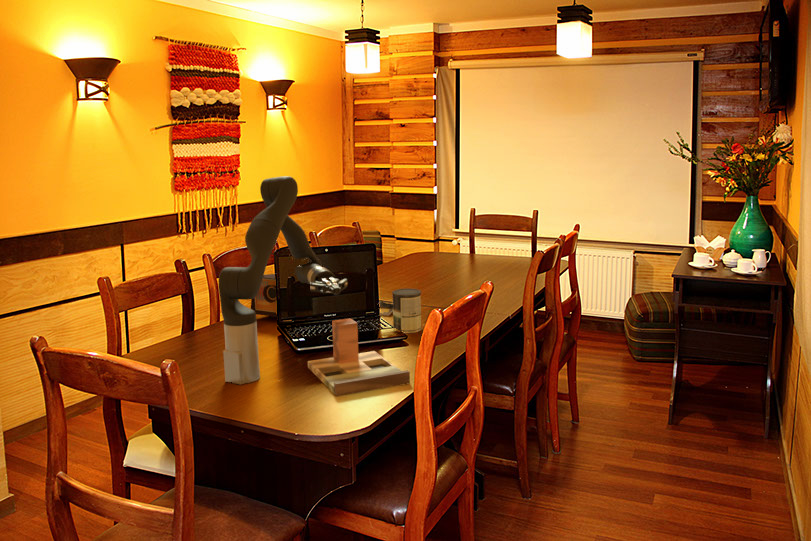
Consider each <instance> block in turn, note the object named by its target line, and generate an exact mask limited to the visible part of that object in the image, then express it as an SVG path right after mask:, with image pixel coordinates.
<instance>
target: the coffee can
mask: <svg viewBox="0 0 811 541" xmlns="http://www.w3.org/2000/svg"><path fill="white" fill-rule="evenodd" d="M421 295H422V290H420V289H416V288H399V289H395V290H393V291H392V304H393V312H392V316H393V317H392V320H393V321H392V322H393V323H392V325H393V327H394V328H396V329H398V330H400V331H403V332H405V333H404V334H414V333H418V332H420V331H422V306H421V305H422V304H421V303H422V302H421V300H422V299H421Z"/></svg>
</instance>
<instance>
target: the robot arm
mask: <svg viewBox="0 0 811 541" xmlns="http://www.w3.org/2000/svg"><path fill="white" fill-rule="evenodd" d="M259 188H260V195H261V196H260V197H261V198H262V201H263V203H264V205H265V208H264V209H263V210H261V211H260V212H259V213H258V214H257V215H256V216H255V217H254V218H253V219H252V221H250V223H249V226H248V229H247V231H246V233H245V236H244V241H245V246H246V248H247V251H248V252H249V255H250V258H251V261H250V264H249V265H248V266H245V267H244V266H243V267H242V266H239V267H238V266H227V267H226V266H225V267H224V268H222V269H221V270H220V272H219V275H218V293H219V300H220V308H221V315H222V318H223V330H224V343H225V345H224V346H225V349H223V351H222V353H223V366H224V367H223V368H224V382H226V383H227V382H228V383H231V382H232V384H235V385H240V386H241V385H244V384H249V383H250V384H251V383H253V382H256V381H258V380H259V379H260V377H261V375H260V372H261V370H260V369H261V368H260V356H259V340H258V327H257V326H258V323H257V314H256V313H255V311H254V310H252V309H251V307H247V306H245V305H244V304H242V303H241V302H240V301H239V300H241V301H242V300H243V301H245V300H247V301H248V300H249V301H250V300H251V299H253V298H255V297H256V295H257V294H258V292H259V289H260V286H261V283H262V279H263V276H264V275H265V272H266V269H267V265H268V262H269V259H270V257H271V255H272V254H271V253H273V249H274V248H275V246H276V243H277V240H278V238H279V236H280V232H281V233H282V235H283V237H284V239H285V242H286V244H287V248H288V250H289V252H290V255H292V256H293V257H294V260H300V259H307V258H310V259H311V260H312V262H311V263H310V262H309V263H307V264H303V265H301V266H300V265H299V266H297V267H296V269H295V274H296V276H297V279H298V280H299V281H300V282H301V283H307V284H310V291H311V292H314V293H321V294H327V293H330V294H333V295H335V296H336V295H340V294H341V292H342V291H343V290H345V289H346V288H348V278H343V279H341V280H340V279H339V278H336V276H335V274H334V273H333V272H332V271H330V270H329V269H327V268H326V267H324V266H323V267H322V264H323V263H322V264H321V262H322V261H321V260H320V259H318V258H319V257H318V256H317V255H316V253H315V252H314V251H313V249H312V247H311V245H310V242H309V240H308V238H307V234H306V232H305V231H304V229H303V228H302V227H301V226H300V225H299V224H298V223H297V222H296V221H295V220H294V219H293V218H292V217H290V216H289V213H290V211H291V210H292V208H293V207H294V205H295V202H296V200H297V197H298V192H299V190H298V189H299V187H298V182H297V181H296V179H295V178H294V177H292V176H290V175H288V176H287V175H284V176H276V177H269V178H265V179H263V180H262V181H261V184H260V187H259ZM308 247H309V248H308ZM315 255H316V256H317V257H318V258H317V257H316V256H315ZM292 256H291V257H292ZM293 257H292V258H293ZM319 260H320V261H321V262H320V261H319Z"/></svg>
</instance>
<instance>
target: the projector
mask: <svg viewBox="0 0 811 541" xmlns="http://www.w3.org/2000/svg"><path fill="white" fill-rule="evenodd" d="M274 253H275V252H271V255H274ZM274 256H275V255H274ZM275 274H276V273H269V274H268V273H267V274H264V276H263V279H262V283H261V286H260V289H259V292H258V294H257V295H256V297H255V298H253V299H250V301H251V302H250V309H252V310H254V311H255V313H256V315H258V316H265V317H267V316H268V318H272V317H273V318H275V317H276V318H278V317H277V314H276V279H275Z"/></svg>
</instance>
